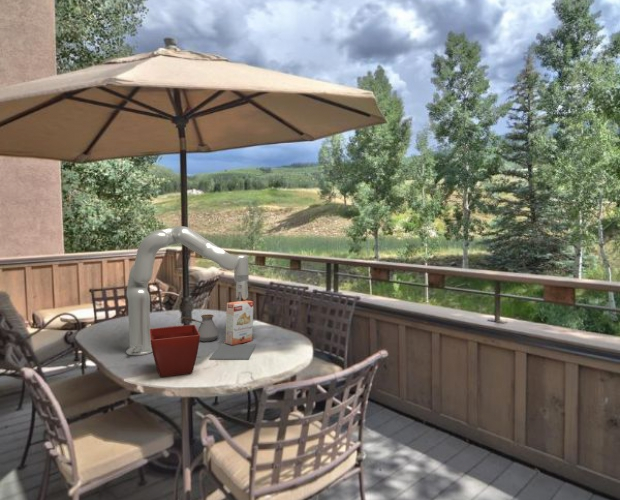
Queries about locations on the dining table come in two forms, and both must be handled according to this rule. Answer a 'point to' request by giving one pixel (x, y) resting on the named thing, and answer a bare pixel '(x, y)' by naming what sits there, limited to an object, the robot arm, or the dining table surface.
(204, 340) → the coffee pot
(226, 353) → the mat
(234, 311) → the cracker box
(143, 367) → the dining table surface
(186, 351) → the plant pot
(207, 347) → the dining table surface
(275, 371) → the dining table surface
